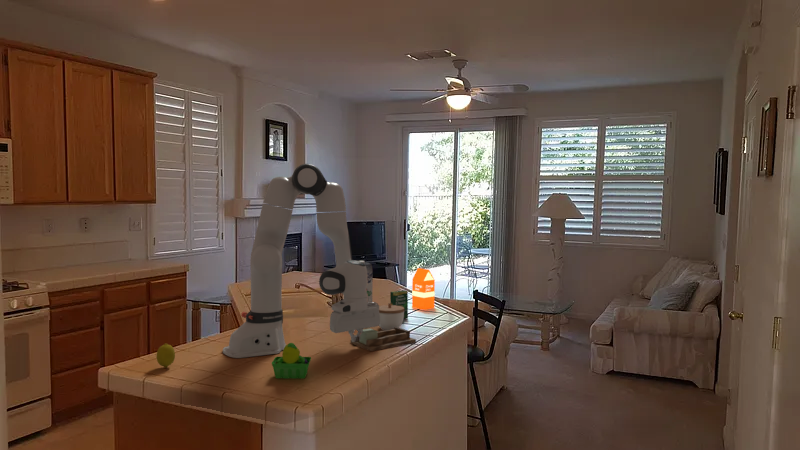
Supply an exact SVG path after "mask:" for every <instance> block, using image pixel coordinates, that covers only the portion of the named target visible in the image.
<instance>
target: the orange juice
mask: <svg viewBox="0 0 800 450" xmlns="http://www.w3.org/2000/svg"><path fill="white" fill-rule="evenodd" d="M431 272H432V271H430V269H428V268H419V267H417V269H416V272H415V273H414V275H413V277H412V282H411V283H412V289H411V290H412V291H411V293H412V294H411V295H412V296H411V297H412V299H411V301H412V302H411V303H412V305H411V307H412V308H415V309H420V310H429V309H435V283H436V281H435V280H436V279H434V278H435V277H434V276H433V274H432V273H431Z"/></svg>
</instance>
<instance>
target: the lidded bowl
mask: <svg viewBox="0 0 800 450" xmlns="http://www.w3.org/2000/svg"><path fill="white" fill-rule="evenodd" d="M379 314H380V324H379V326H378V327H379V328H380V329H381V331H385V330H391V329H394V327H398V328H401V326H402V324H403V322H404V320H405V319H404V307H402V306H397V305H391V302H389V303H388V304H384V305H383V304H382V305H379Z"/></svg>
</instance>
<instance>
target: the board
mask: <svg viewBox="0 0 800 450" xmlns="http://www.w3.org/2000/svg"><path fill="white" fill-rule="evenodd" d="M356 335H357V334H354V336H356ZM351 343H352V345H355V346H356V347H359V348H362V349H364V350H366V351H370V352H373V351H379V350H384V349H389V348H394V347H398V346H404V345H405V346H406V345H409V344H414V343H415V344H416V343H417V339H416V338H413V337H411V331H410V330H407V329H404V328H401V327H399V328H398V327H394V329H391V330H380V331H378V338H376V339H371V340H366V344H363V343H360V342H359V341H356V342H352V341H351V339H350V344H351Z"/></svg>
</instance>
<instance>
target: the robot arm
mask: <svg viewBox="0 0 800 450" xmlns="http://www.w3.org/2000/svg"><path fill="white" fill-rule="evenodd" d="M301 195H311V196H312V197H313V198H314V200H315V206H316V208H315V209H316V210H315V211H316V224H317V227H318V230H319V232H321V233H322V234H323V235H324V236H326V237H328V238H329V239H330V240H331V242H332V244H333V247H334V256H335V263H336V264H335V267H333V268H329V269H326V270H325V271H323V272H322V273H321V274H320V276H319V280H318V284H319V287H320V290H321V291H322V292H323V293H324V294H326V295H330V296H331V295H333V296H335V295H338V294H343V299H341V300H339V301H337V302H335V303H334V304H332V305H331V310H332V312H331V313H330V318H329V319H330V320H329V330H330V331H331V332H332V333H335V334H339V333H345V332H348V334H349V336H350V340H351V341H352V342H356V341H360V336H361V334H362V332H363V330H364V329H371V328H375V327H379V324H380V314H379V306H380V305H379V303H377V302H376V301H372V303H368V295H367V285H368V278H367V268H366V265H365V264H364V263H362V262H360V261H361V260H354V259H353V255H352V247H351V239H350V234H349V229H348V222H347V221H348V220H347V207H346V199H345V193H344V190H343V187H342V186H341V185H340V184H339V183H336V182H332V181H327V179H326V178H325V176H324V174H323V173H322V171H321V170H320V168H318V167H317V166H316V165H314V164H312V163H303V164H300V165H299V166H297V167H295V169H294V171H293V173H292V174H291V175H290V176H287V177H286V176H276V177H273V178H272V179H271V180H270V182H269V184H268V187H267V189H266V191H265V194H264V198H263V200H262V201H263V202H262V206H261V209H260V214H259V219H258V223H257V227H256V231H255V236H254V238H253V239H254V240H253V243H252V248H251V253H250V260H249V261H250V310H249V311H248V312H246V311H242V312H241V313H240V314H241V315H240V316H241V317H242V318H243V319H245V322H243V324H241V325H240V326H239V327H238V328H237V329H236V330H234V331H233V332H232V333H231V335H230V338H229V342H228V346H224V347H223V348H222V354H224V355H226V356H227V357H230V358H233V359H243V358H249V357H250V358H251V357H259V356H266V355H267V356H269V355H274V354H276V355H277V354H280V353H281V352H282V351H283V350H284V347H285V346H286V345H287V344H286V342H285V341H286V340H285V335H284V330H283V323H284V314H283V313H284V312H283V311H284V310H283V309H282V308H283V307H282V301H283V299H282V287H283V286H282V283H283V277H282V276H283V257H282V254H283V250H284V246H285V243H286V239H287V235H288V231H289V227H290V224H291V219H292V215H293V210H294V208H295V207H294V205H295V202H296V200H297V197H298V196H301ZM355 331H357V333H356V334H355ZM354 335H356V336H354Z"/></svg>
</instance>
